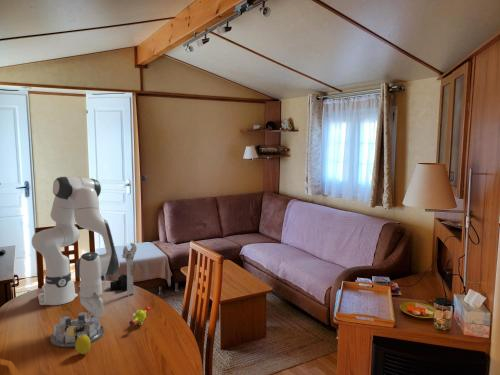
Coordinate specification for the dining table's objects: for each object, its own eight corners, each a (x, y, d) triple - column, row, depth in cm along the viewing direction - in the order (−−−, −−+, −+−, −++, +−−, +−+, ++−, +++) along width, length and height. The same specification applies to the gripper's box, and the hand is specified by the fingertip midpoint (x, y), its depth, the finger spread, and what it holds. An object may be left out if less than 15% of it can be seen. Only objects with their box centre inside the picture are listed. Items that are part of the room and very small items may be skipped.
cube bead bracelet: (63, 324, 176) (63, 312, 176) (104, 322, 178) (104, 311, 177) (47, 344, 158) (46, 331, 158) (93, 341, 160) (92, 328, 160)
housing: (43, 335, 169) (43, 321, 168) (92, 320, 183) (92, 308, 182) (60, 353, 153) (59, 338, 153) (111, 336, 168) (111, 322, 167)
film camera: (110, 287, 228) (109, 272, 227) (127, 285, 232) (127, 270, 231) (110, 296, 214) (110, 280, 213) (129, 294, 217) (128, 278, 217)
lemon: (78, 351, 155) (77, 331, 154) (92, 350, 156) (92, 331, 155) (73, 358, 150) (72, 338, 149) (88, 357, 150) (87, 337, 149)
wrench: (124, 299, 209) (122, 244, 206) (122, 299, 210) (120, 244, 208) (138, 296, 214) (136, 242, 212) (136, 295, 216) (134, 241, 213)
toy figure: (143, 316, 188) (142, 302, 188) (154, 317, 187) (153, 303, 187) (124, 333, 171) (124, 318, 170) (136, 334, 170) (135, 319, 169)
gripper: (107, 295, 166) (108, 326, 167) (90, 281, 181) (91, 310, 183) (92, 299, 162) (93, 331, 163) (76, 284, 177) (77, 314, 179)
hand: (92, 319), depth 173 cm, fingers closed, pressing on cube bead bracelet
